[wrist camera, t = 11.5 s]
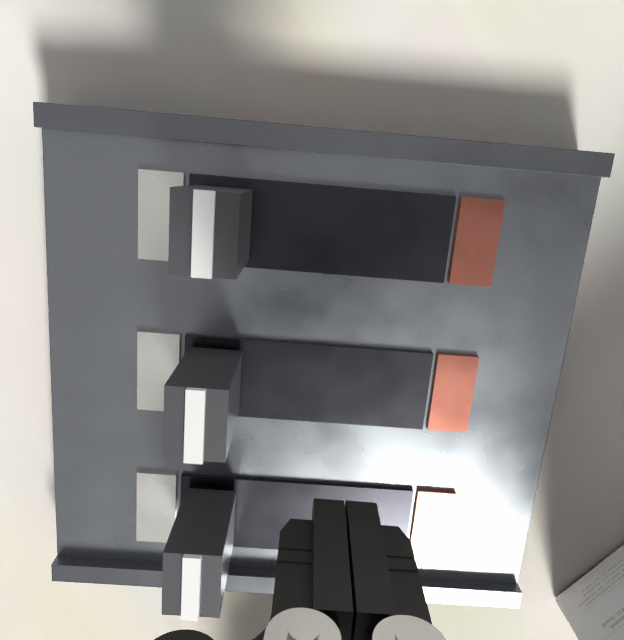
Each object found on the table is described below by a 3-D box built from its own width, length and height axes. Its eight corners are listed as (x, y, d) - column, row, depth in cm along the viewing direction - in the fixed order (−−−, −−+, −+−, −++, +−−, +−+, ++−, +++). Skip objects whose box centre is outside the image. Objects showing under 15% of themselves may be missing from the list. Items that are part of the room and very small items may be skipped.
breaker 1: (253, 188, 20) (239, 193, 16) (249, 259, 20) (235, 280, 16) (195, 184, 20) (168, 187, 16) (193, 255, 20) (166, 275, 16)
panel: (579, 155, 22) (614, 153, 20) (498, 567, 27) (518, 608, 24) (64, 110, 21) (33, 101, 19) (76, 541, 26) (51, 580, 24)
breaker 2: (242, 350, 21) (228, 392, 17) (239, 411, 22) (224, 466, 18) (189, 346, 21) (162, 388, 17) (187, 407, 22) (161, 461, 18)
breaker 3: (236, 491, 23) (221, 560, 19) (233, 544, 23) (218, 622, 19) (186, 487, 23) (161, 556, 19) (184, 541, 23) (160, 618, 19)
